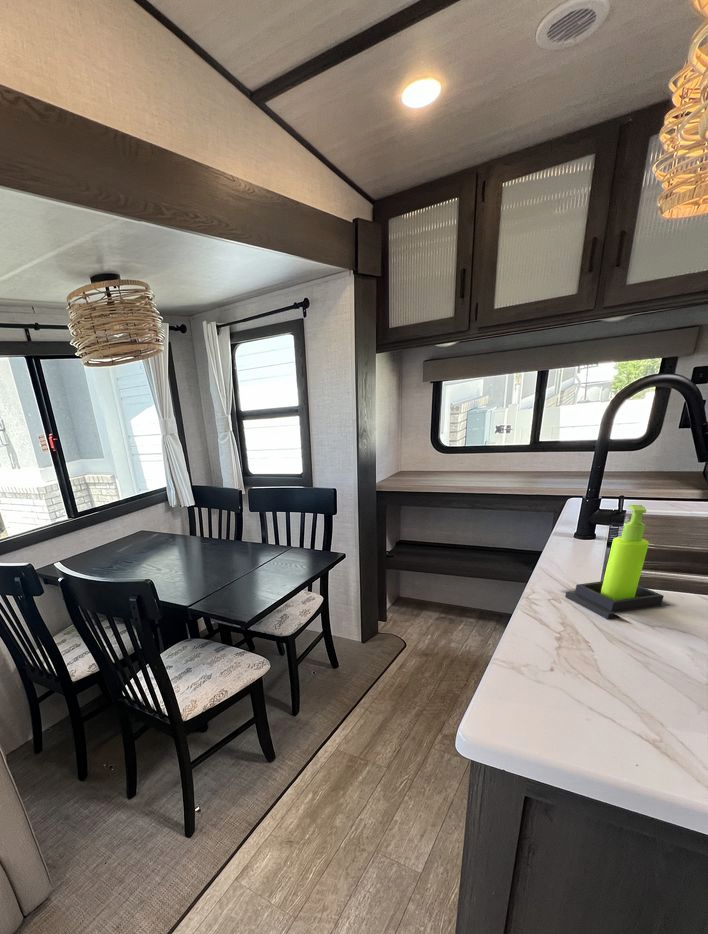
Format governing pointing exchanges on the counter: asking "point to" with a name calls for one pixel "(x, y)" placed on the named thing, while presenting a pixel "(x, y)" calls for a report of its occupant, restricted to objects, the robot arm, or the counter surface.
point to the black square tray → (607, 607)
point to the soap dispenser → (626, 558)
